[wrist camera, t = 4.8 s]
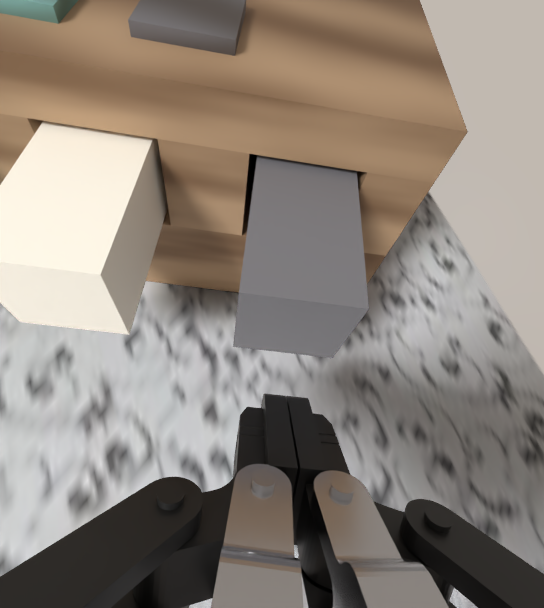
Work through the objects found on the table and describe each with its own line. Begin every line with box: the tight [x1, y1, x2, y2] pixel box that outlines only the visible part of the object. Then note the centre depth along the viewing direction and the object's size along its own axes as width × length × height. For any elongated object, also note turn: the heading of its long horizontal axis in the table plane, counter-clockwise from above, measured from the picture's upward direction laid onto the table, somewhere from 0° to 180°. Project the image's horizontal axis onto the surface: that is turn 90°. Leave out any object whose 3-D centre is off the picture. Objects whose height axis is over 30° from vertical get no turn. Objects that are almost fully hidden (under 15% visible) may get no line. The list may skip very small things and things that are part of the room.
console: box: [0, 0, 467, 293], centre depth 19 cm, size 11×26×12 cm, turn 86°
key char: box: [233, 155, 369, 358], centre depth 15 cm, size 10×4×4 cm, turn 176°
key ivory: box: [0, 121, 168, 335], centre depth 14 cm, size 10×4×4 cm, turn 176°
